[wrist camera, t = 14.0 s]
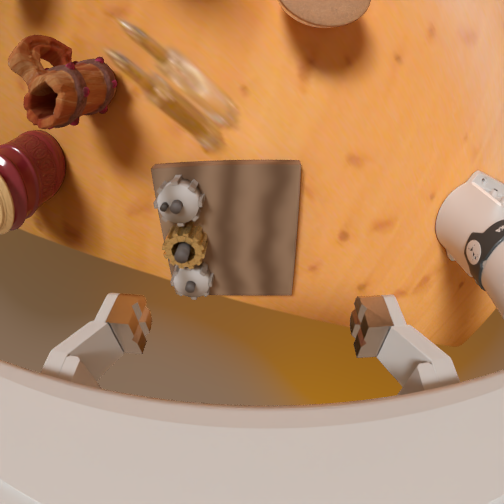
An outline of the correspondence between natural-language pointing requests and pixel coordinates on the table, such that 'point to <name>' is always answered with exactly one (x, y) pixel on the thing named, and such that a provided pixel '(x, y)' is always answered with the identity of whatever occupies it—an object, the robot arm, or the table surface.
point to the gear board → (232, 223)
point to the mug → (60, 82)
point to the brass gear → (189, 236)
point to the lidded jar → (325, 11)
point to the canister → (28, 176)
